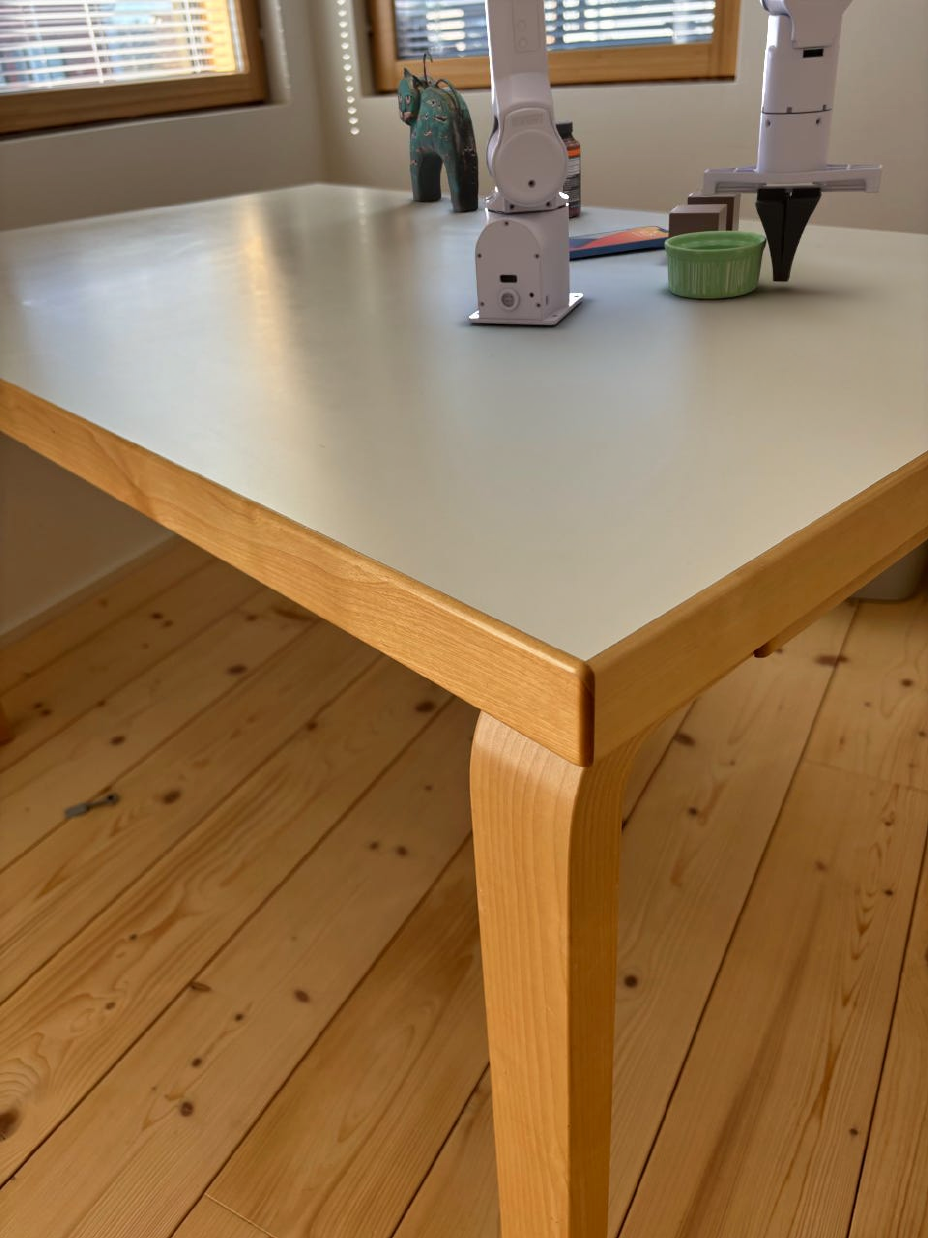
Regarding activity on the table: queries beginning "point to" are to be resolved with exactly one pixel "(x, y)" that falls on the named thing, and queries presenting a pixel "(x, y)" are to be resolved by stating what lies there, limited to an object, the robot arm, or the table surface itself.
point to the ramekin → (714, 263)
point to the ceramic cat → (439, 139)
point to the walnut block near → (697, 219)
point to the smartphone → (617, 241)
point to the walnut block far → (728, 199)
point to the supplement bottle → (571, 166)
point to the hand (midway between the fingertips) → (781, 279)
